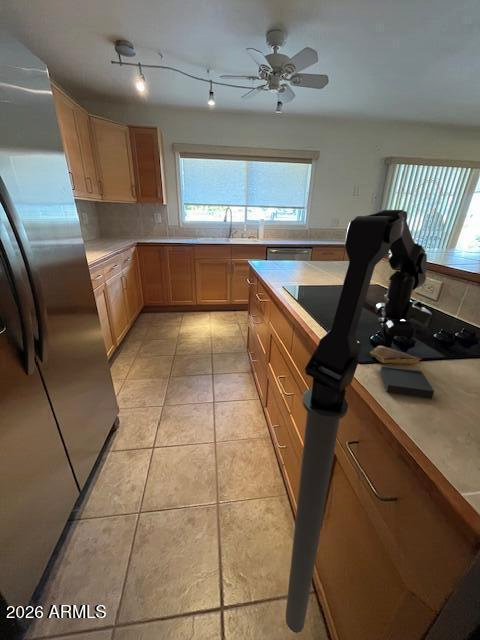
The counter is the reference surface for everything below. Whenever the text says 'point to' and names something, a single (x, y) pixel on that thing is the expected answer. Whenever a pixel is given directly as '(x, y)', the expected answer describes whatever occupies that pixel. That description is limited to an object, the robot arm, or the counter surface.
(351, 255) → the robot arm
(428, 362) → the counter surface
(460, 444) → the counter surface
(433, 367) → the counter surface
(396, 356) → the sandwich half
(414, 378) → the black pad
